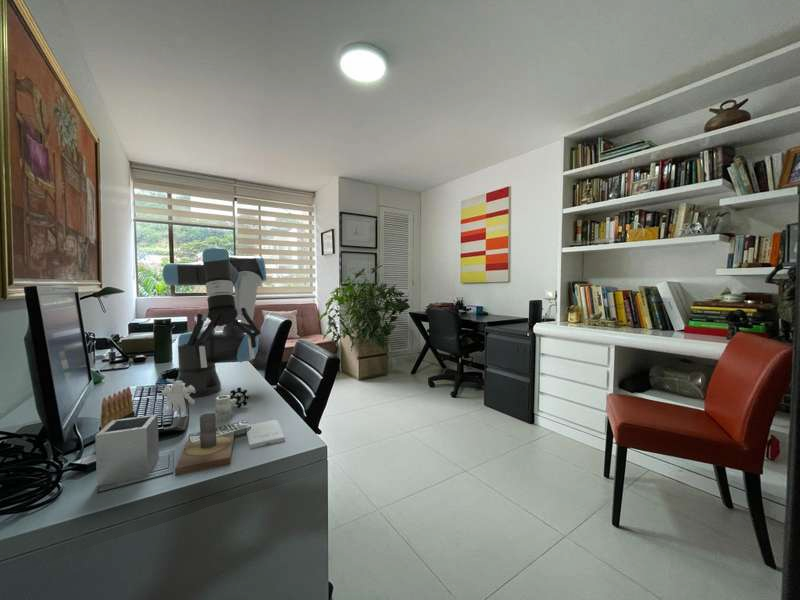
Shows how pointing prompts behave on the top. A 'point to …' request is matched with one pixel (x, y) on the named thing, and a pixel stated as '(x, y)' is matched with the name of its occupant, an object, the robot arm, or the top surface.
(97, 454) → the square pen holder
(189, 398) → the hat wearing toy figure
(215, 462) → the shaft stand
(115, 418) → the ammunition clip
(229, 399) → the valve
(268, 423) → the external hard drive
